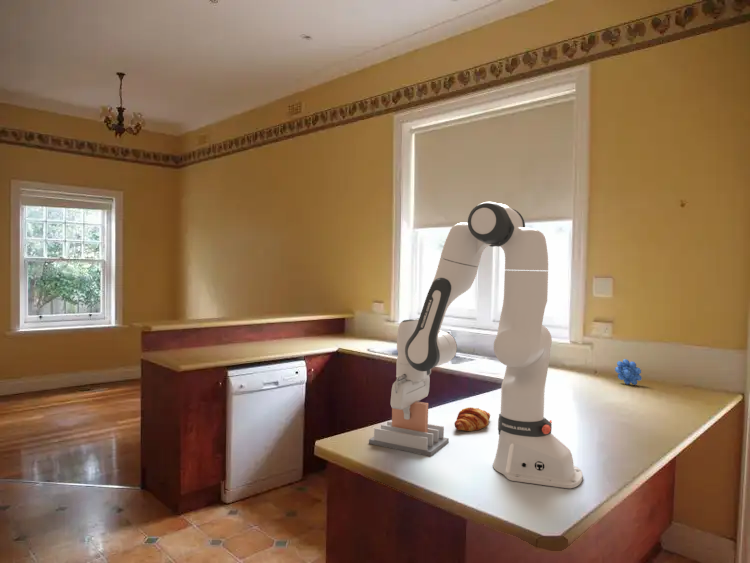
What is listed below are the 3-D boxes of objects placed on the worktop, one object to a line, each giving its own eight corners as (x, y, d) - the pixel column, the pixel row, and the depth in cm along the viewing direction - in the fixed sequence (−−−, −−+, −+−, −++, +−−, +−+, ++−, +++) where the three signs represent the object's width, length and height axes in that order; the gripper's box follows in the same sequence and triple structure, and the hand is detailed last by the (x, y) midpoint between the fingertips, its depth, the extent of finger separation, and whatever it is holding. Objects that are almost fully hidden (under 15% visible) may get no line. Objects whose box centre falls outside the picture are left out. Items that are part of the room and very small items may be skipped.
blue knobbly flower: (612, 384, 249) (613, 359, 249) (615, 381, 254) (616, 357, 254) (639, 387, 242) (640, 362, 242) (642, 385, 248) (643, 360, 247)
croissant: (480, 428, 187) (472, 406, 189) (504, 419, 181) (495, 397, 184) (449, 441, 171) (440, 417, 173) (474, 432, 165) (464, 407, 167)
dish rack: (448, 442, 160) (448, 426, 160) (430, 456, 148) (431, 439, 148) (390, 431, 170) (390, 416, 169) (368, 443, 157) (369, 427, 157)
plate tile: (427, 436, 157) (428, 403, 156) (424, 438, 155) (425, 404, 155) (394, 430, 162) (395, 398, 162) (391, 432, 160) (392, 399, 160)
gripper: (405, 379, 147) (404, 427, 148) (433, 367, 165) (432, 411, 166) (385, 376, 150) (384, 424, 151) (415, 365, 168) (414, 408, 169)
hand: (409, 417), depth 158 cm, fingers closed on plate tile, 2 cm apart
